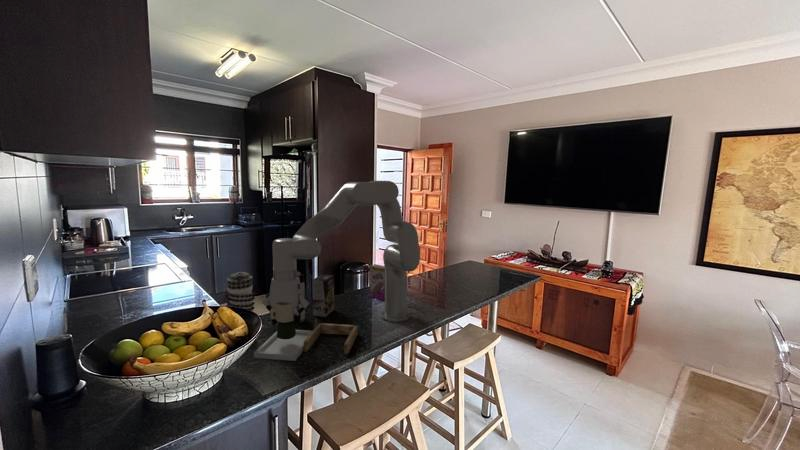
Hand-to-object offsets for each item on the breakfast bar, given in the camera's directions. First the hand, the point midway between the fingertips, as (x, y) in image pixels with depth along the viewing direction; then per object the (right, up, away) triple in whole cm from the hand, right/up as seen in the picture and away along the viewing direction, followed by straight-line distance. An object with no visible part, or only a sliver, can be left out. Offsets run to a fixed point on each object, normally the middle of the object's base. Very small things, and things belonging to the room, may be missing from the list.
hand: (286, 323), depth 113 cm
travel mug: (-3, -6, +22) cm, 23 cm away
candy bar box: (+30, -3, +51) cm, 59 cm away
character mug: (0, -5, +1) cm, 5 cm away
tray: (0, -8, +1) cm, 8 cm away
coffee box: (+6, -5, +31) cm, 32 cm away
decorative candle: (-17, -8, +4) cm, 19 cm away
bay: (+15, -8, +4) cm, 17 cm away
